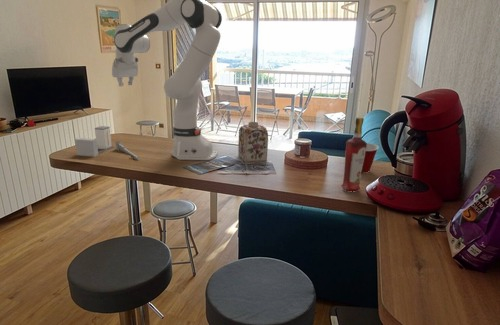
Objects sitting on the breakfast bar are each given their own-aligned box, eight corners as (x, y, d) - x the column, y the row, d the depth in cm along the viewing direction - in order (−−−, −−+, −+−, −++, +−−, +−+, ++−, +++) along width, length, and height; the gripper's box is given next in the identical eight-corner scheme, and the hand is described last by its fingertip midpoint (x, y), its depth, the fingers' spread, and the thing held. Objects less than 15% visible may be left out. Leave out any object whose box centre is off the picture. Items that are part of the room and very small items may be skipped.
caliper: (116, 152, 166) (114, 140, 164) (118, 151, 167) (116, 139, 165) (138, 160, 154) (137, 148, 152) (140, 160, 155) (139, 147, 153)
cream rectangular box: (111, 146, 170) (109, 126, 167) (106, 149, 165) (103, 128, 162) (102, 146, 171) (100, 126, 168) (97, 148, 166) (94, 128, 163)
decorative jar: (244, 162, 155) (245, 125, 150) (237, 155, 166) (238, 120, 160) (268, 160, 159) (269, 124, 153) (259, 154, 169) (261, 119, 164)
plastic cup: (345, 171, 147) (349, 145, 144) (355, 165, 155) (359, 141, 151) (369, 177, 141) (373, 150, 137) (378, 171, 148) (382, 145, 145)
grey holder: (120, 149, 170) (118, 132, 167) (99, 159, 153) (97, 140, 151) (95, 147, 172) (93, 130, 170) (72, 157, 155) (70, 138, 153)
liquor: (350, 185, 131) (359, 115, 122) (364, 191, 125) (375, 119, 116) (336, 188, 127) (344, 116, 119) (350, 195, 121) (360, 120, 113)
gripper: (120, 58, 158) (121, 87, 162) (140, 59, 177) (140, 85, 182) (108, 57, 159) (109, 86, 163) (129, 57, 178) (129, 83, 182)
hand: (125, 85), depth 173 cm, fingers open, 8 cm apart
